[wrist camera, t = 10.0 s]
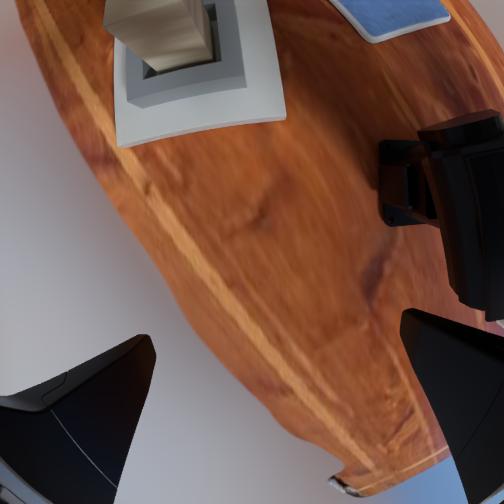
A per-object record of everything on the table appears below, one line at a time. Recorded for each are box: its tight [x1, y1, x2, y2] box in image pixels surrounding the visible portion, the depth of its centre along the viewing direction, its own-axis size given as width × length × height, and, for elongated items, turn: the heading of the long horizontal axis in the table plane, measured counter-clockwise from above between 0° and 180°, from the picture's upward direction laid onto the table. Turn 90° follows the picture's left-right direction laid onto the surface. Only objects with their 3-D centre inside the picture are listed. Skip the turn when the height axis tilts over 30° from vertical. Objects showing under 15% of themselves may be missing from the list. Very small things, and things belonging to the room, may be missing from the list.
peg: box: [103, 0, 217, 75], centre depth 11 cm, size 4×4×9 cm
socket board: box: [114, 0, 287, 148], centre depth 15 cm, size 12×12×4 cm
